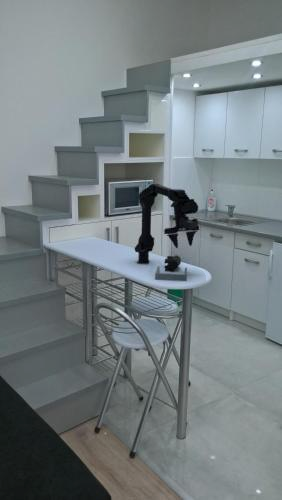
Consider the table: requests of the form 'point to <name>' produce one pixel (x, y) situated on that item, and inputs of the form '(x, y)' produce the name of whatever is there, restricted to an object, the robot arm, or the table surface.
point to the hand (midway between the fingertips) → (183, 246)
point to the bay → (170, 275)
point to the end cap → (172, 263)
